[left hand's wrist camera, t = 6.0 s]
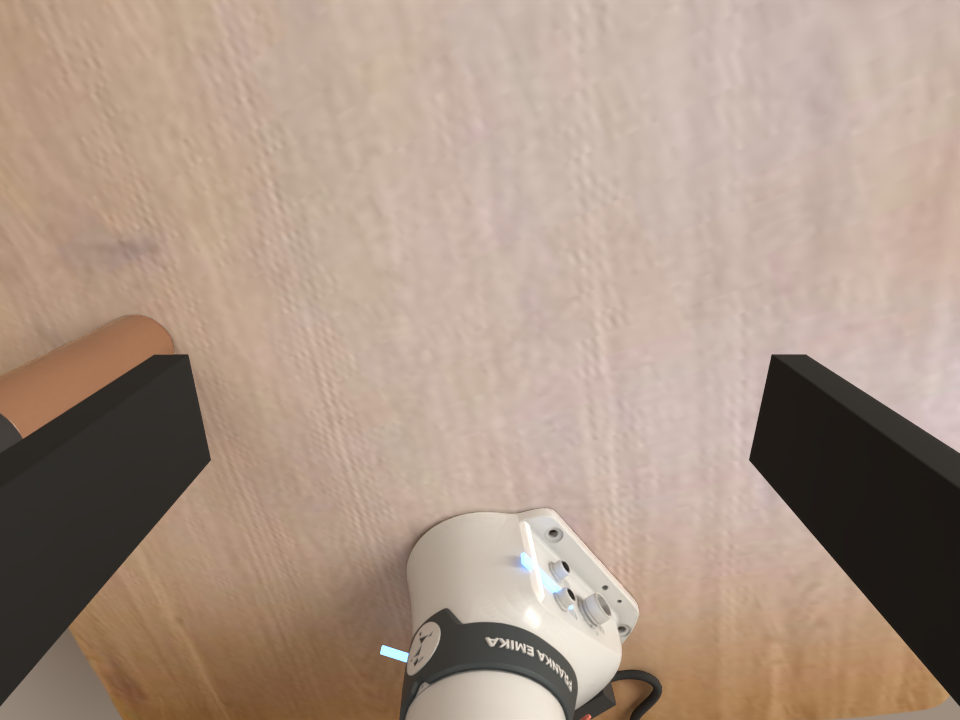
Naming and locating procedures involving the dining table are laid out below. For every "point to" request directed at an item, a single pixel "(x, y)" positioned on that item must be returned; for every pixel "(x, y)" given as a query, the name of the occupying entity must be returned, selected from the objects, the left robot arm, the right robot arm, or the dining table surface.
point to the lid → (7, 434)
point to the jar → (78, 370)
